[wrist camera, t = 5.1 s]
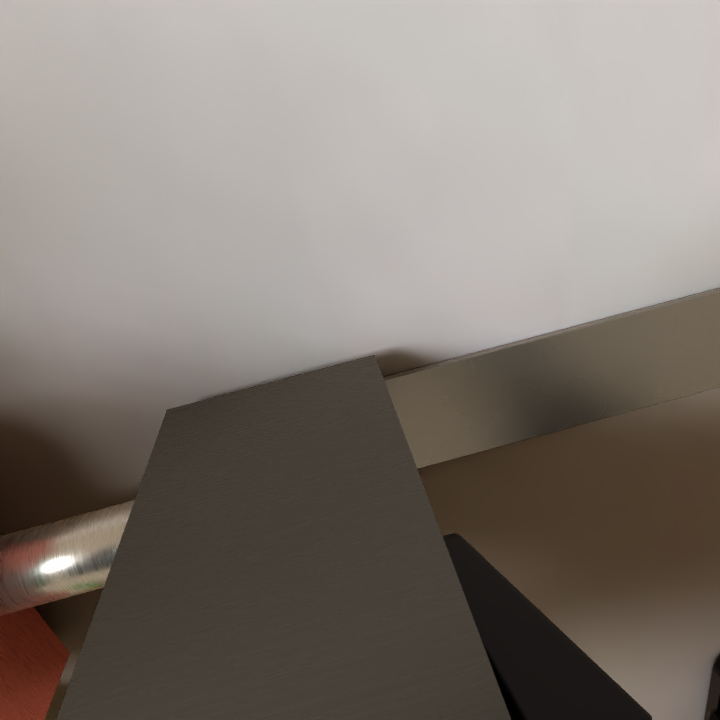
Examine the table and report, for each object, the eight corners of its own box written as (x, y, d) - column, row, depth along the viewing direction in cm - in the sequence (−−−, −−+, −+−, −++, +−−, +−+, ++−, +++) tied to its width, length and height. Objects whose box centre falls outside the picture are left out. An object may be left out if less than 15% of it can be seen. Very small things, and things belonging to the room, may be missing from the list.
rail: (823, 260, 11) (830, 262, 11) (803, 359, 12) (809, 363, 12) (261, 409, 11) (260, 413, 10) (294, 497, 12) (293, 501, 12)
